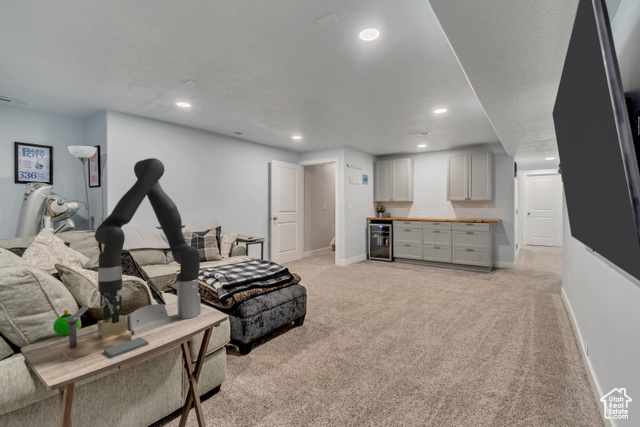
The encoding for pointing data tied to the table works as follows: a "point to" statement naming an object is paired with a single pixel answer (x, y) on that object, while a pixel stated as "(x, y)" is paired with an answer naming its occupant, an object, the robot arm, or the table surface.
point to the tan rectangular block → (111, 327)
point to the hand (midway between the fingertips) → (111, 320)
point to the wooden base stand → (90, 343)
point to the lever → (76, 315)
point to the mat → (125, 347)
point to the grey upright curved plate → (147, 318)
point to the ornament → (63, 324)
